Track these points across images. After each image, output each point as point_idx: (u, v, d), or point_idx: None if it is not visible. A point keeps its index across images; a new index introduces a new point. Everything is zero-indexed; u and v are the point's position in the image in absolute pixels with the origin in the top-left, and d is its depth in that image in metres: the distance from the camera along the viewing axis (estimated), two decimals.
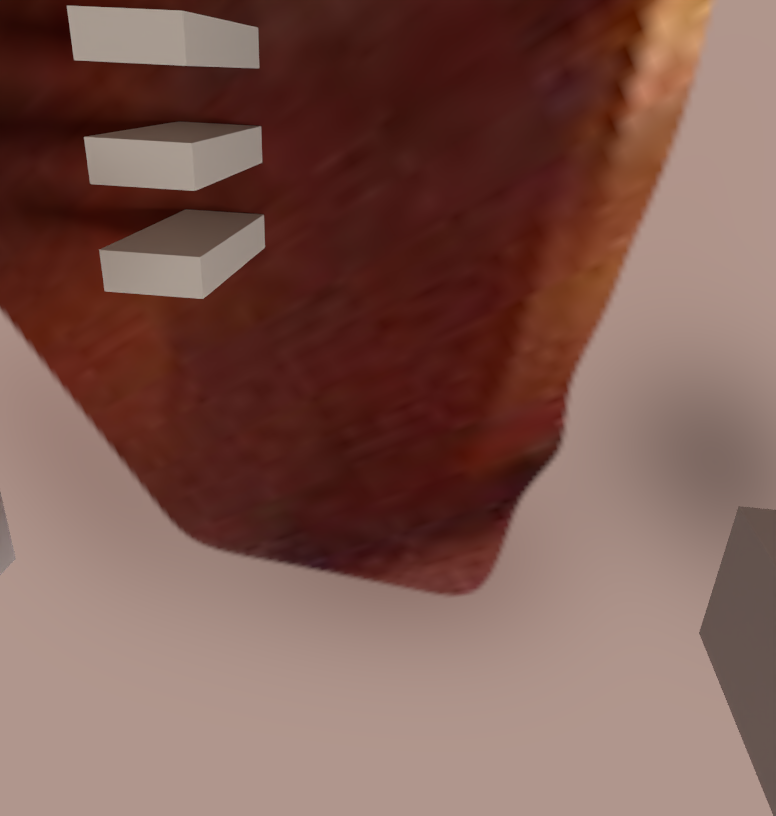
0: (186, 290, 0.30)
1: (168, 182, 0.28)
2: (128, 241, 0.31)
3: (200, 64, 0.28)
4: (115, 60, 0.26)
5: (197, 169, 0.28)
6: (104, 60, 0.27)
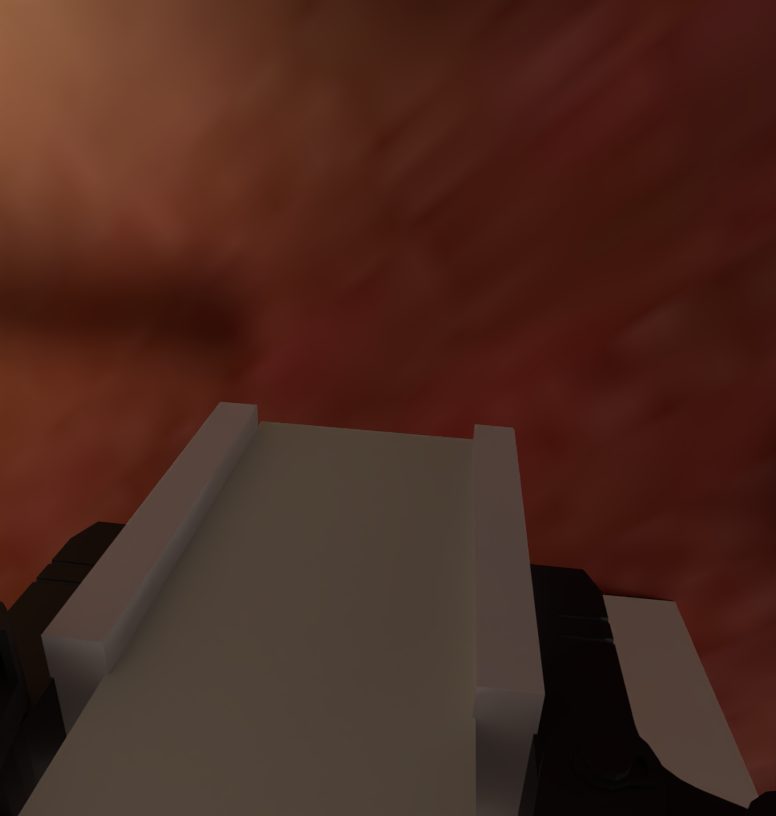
0: None
1: None
2: None
3: None
4: None
5: None
6: None
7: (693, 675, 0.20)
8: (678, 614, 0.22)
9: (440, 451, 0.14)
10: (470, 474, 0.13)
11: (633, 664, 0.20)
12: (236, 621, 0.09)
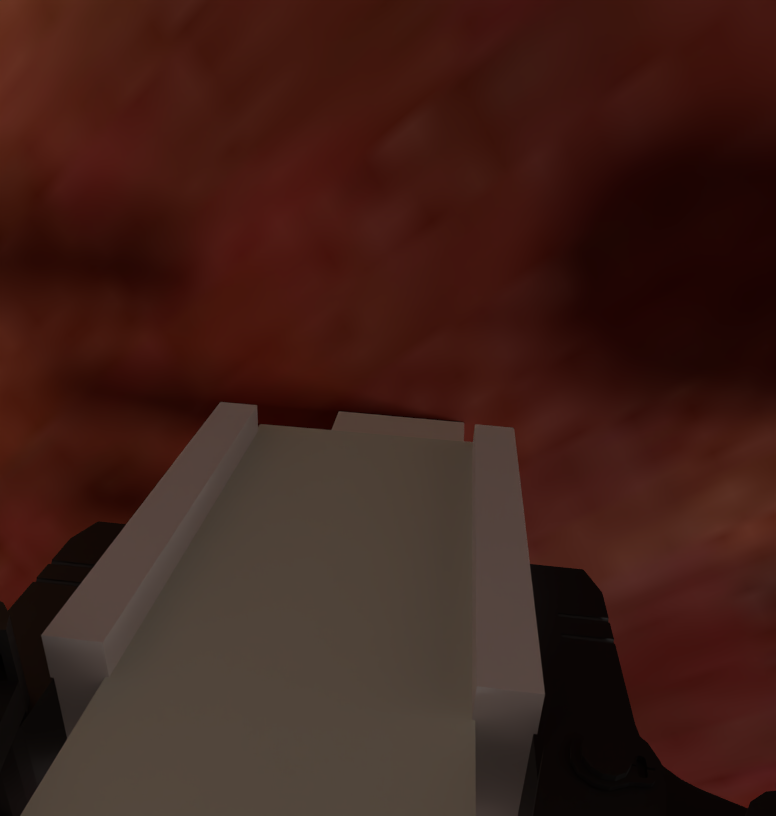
0: None
1: None
2: None
3: None
4: None
5: None
6: None
7: None
8: (461, 430, 0.24)
9: (440, 454, 0.14)
10: (470, 477, 0.13)
11: None
12: (235, 626, 0.09)
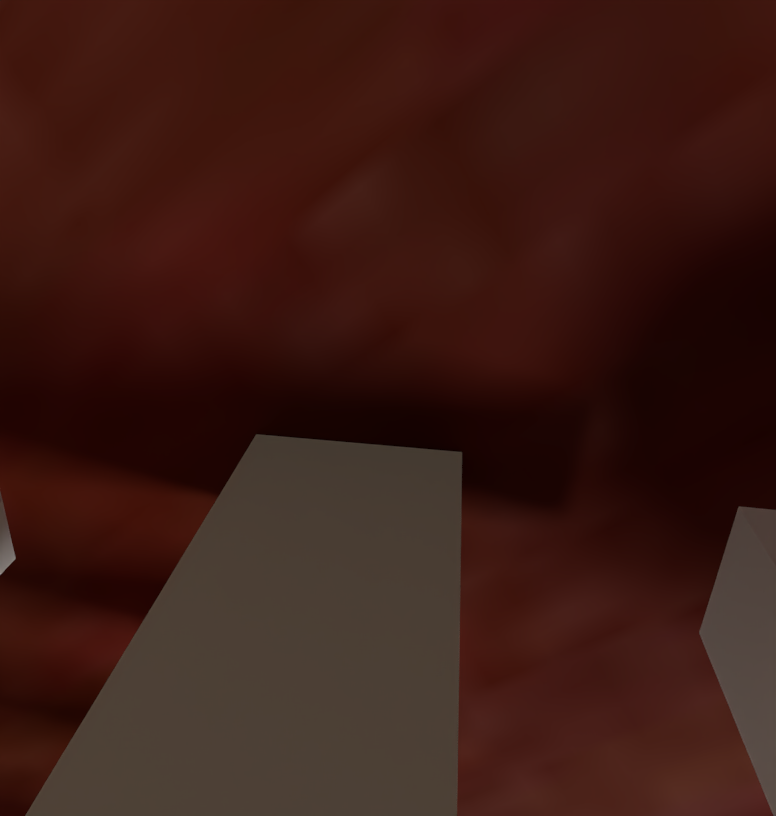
0: None
1: None
2: None
3: None
4: None
5: None
6: None
7: None
8: None
9: (429, 462, 0.14)
10: (457, 486, 0.13)
11: None
12: (232, 628, 0.10)
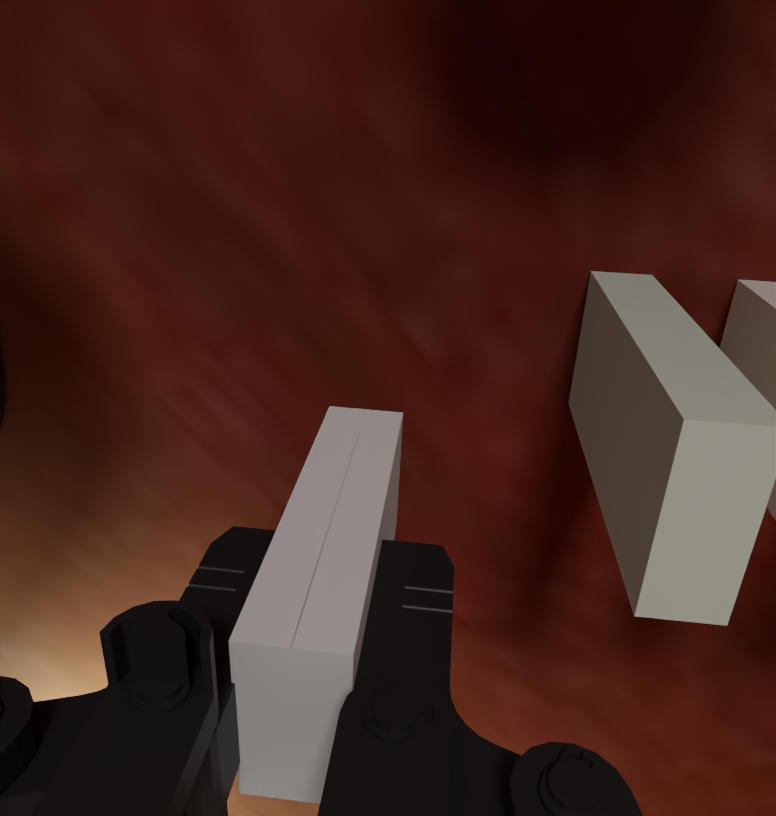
0: None
1: None
2: None
3: None
4: None
5: None
6: None
7: None
8: (744, 287, 0.20)
9: (590, 297, 0.21)
10: (598, 286, 0.20)
11: (757, 383, 0.19)
12: (606, 456, 0.17)
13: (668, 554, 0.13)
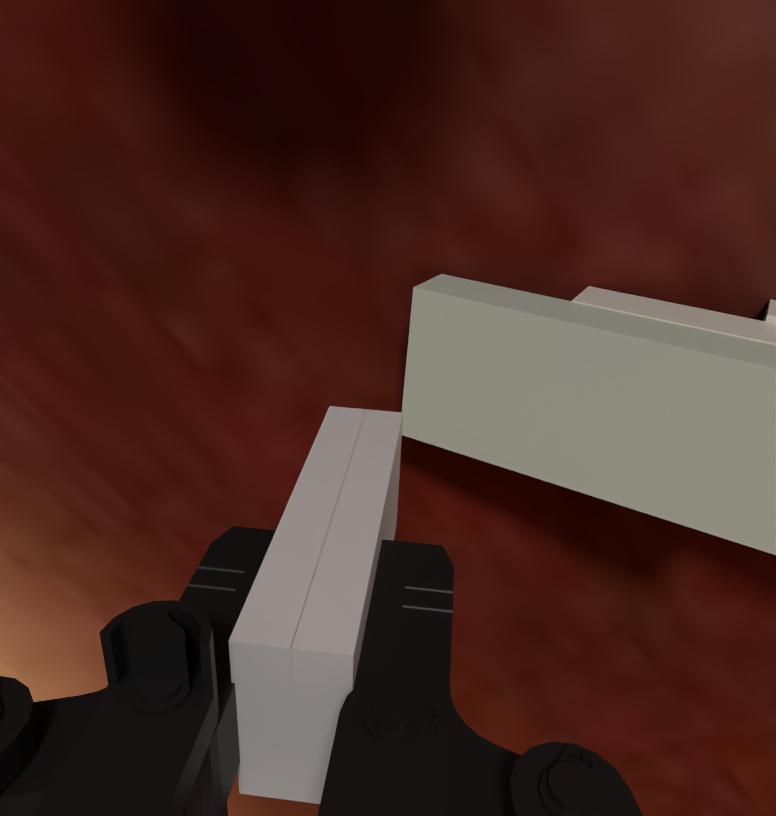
0: None
1: None
2: None
3: None
4: None
5: None
6: None
7: None
8: None
9: (431, 315, 0.19)
10: (461, 300, 0.18)
11: None
12: (606, 455, 0.18)
13: None
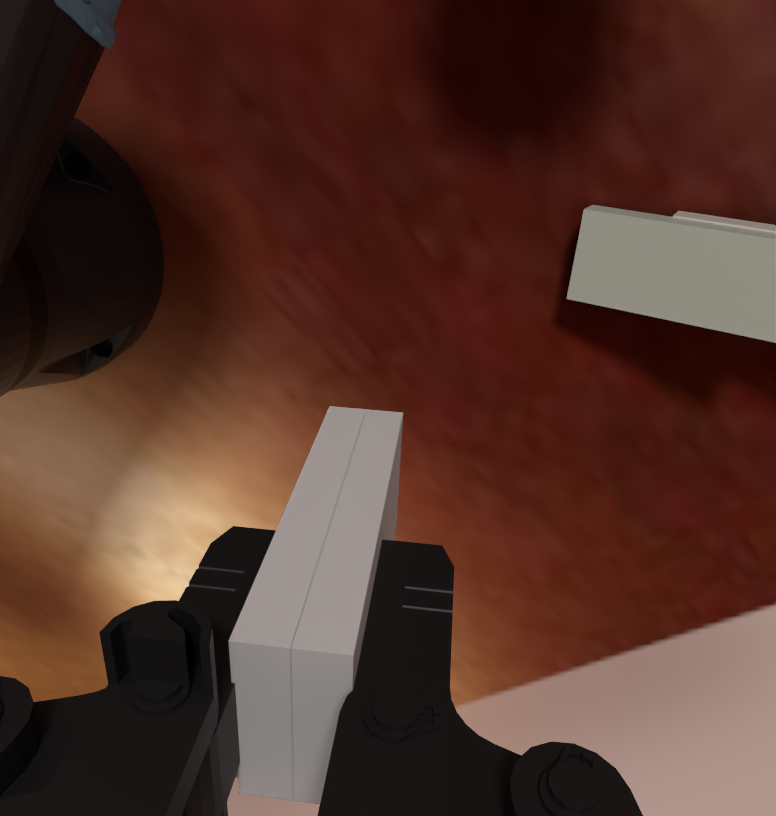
0: None
1: None
2: None
3: None
4: None
5: None
6: None
7: None
8: None
9: (593, 225, 0.33)
10: (613, 215, 0.33)
11: None
12: (694, 298, 0.32)
13: None
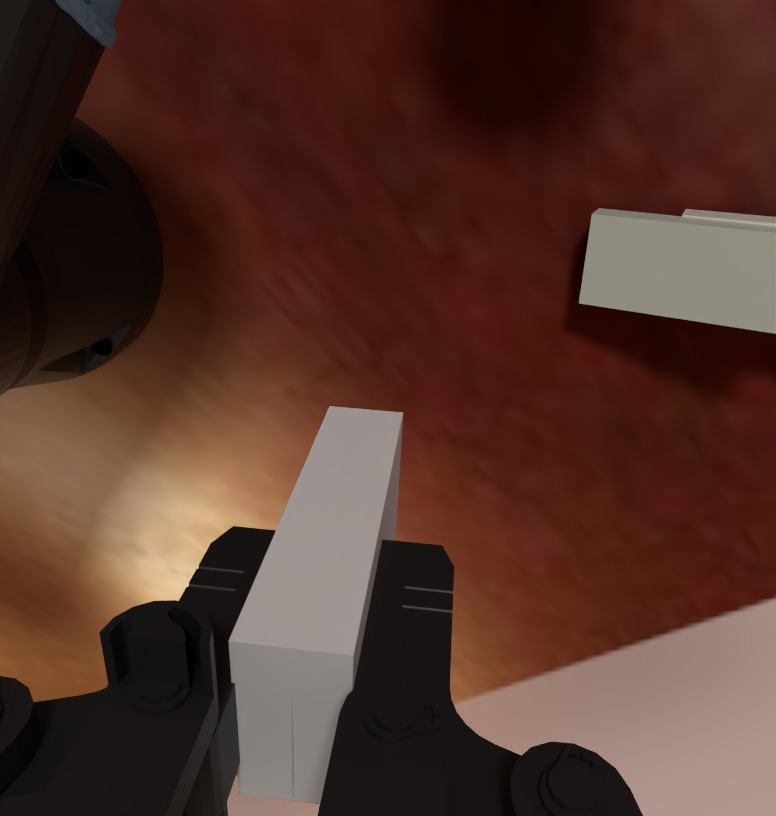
0: None
1: None
2: None
3: None
4: None
5: None
6: None
7: None
8: (696, 217, 0.33)
9: (602, 229, 0.33)
10: (621, 218, 0.33)
11: None
12: (707, 296, 0.32)
13: None
